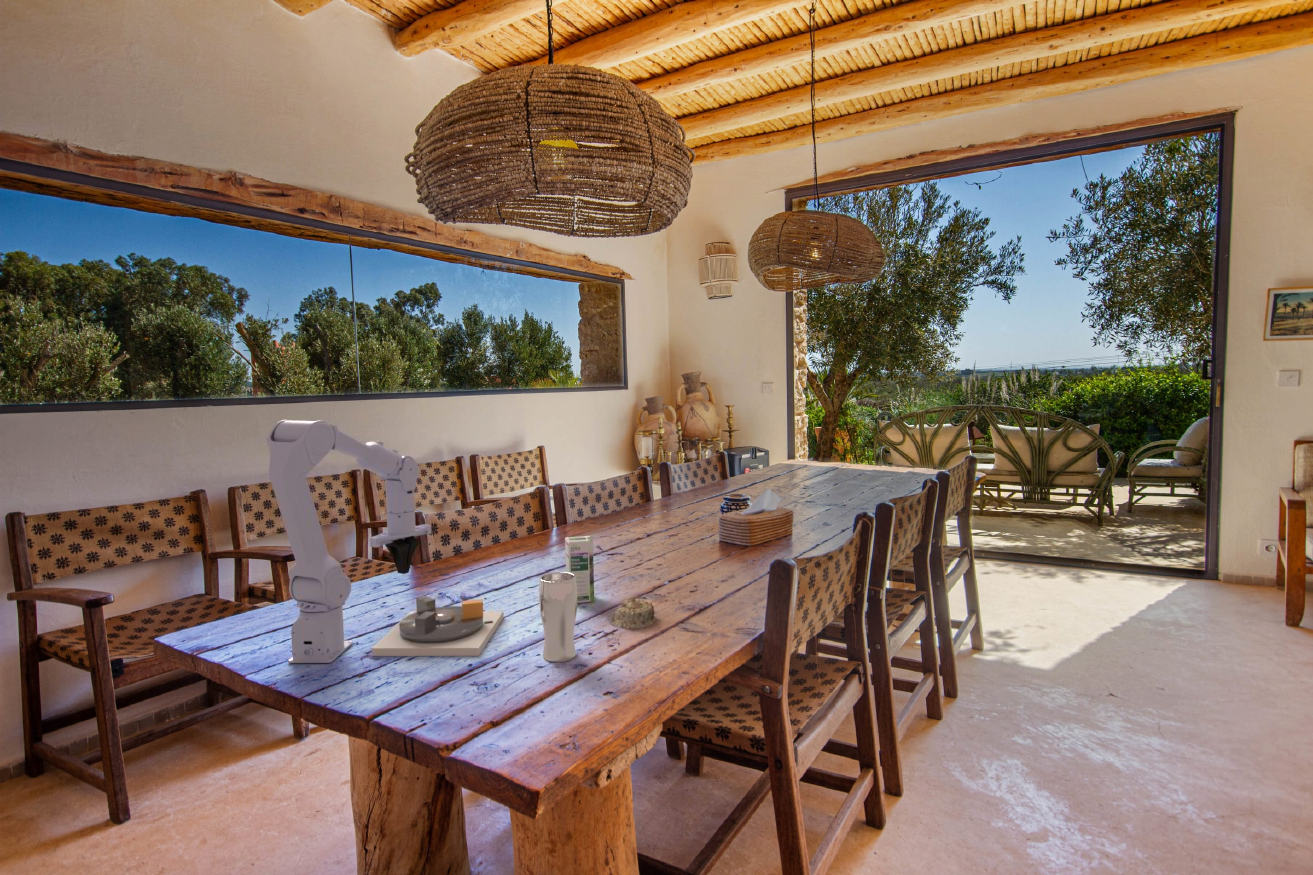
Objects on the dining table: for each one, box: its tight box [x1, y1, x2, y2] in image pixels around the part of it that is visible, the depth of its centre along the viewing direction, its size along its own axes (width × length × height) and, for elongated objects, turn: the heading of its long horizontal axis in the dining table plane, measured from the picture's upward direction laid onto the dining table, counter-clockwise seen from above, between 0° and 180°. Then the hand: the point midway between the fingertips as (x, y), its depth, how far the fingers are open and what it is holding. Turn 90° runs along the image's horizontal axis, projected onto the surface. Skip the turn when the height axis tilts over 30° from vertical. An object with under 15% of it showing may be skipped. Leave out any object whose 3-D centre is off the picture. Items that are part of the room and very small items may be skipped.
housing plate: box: [371, 610, 504, 657], centre depth 139 cm, size 20×20×2 cm
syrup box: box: [564, 535, 595, 604], centre depth 160 cm, size 6×6×14 cm
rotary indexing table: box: [399, 595, 484, 643], centre depth 138 cm, size 16×16×5 cm
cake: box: [609, 597, 657, 629], centre depth 146 cm, size 10×10×5 cm
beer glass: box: [538, 571, 578, 663], centre depth 128 cm, size 7×7×15 cm
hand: (403, 572), depth 150 cm, fingers closed
